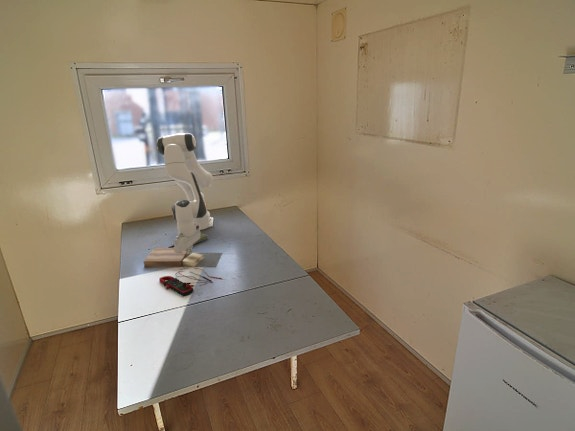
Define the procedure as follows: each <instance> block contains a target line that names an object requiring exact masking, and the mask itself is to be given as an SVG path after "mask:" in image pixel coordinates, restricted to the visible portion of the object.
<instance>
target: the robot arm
mask: <svg viewBox="0 0 575 431" xmlns="http://www.w3.org/2000/svg"><path fill="white" fill-rule="evenodd" d="M196 147H197V140H196V138H195V136H194V135H193V134H192V133H189V132H185V133H175V134H170V135H166V136H160V137H158V139H157V140H156V149H157V151H158V153H159V154H160V155H161V156H163V162H164V166H165V167H164V168H165V171H166V175H167V176H168V177H169V178H170V179H172V180H174V182H175V184H176V185H177V186H178V187H180V188H181V189H182V191H183V192H184V193H185V196H186V199H181V200H178V201H176V202H175V203H174V204H173V205H172V206H171V212H172V218H173V219H174V220H175V221H176V222H177V225H176V227H177V236H176V237H175V239H174V243H173V245H174V248H175V252H176V253H182V252H183V251H185V250H186V253H187V254H189V255H190V253H193V247H194V245H195V244H194V243H195V242H196V241H198V240H199V239H200V236H201V235H200V233H201V230H205V229H208V228H212V227H213V226H214V217H211V213H210V211H208V208H207V207H208V206H207V203H206V200H205V195H204V193H203V192H201V190H200V189H206V188H210V187H211V186H212V185H213V182H214V176H213V175H212V173H211V172H209V171H207V170H206V169H205V168H203V166H202V165H201V164H200V163H199V161H198V159H197V157H196V154H195V152H194V151H195V149H196Z"/></svg>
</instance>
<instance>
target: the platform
mask: <svg viewBox="0 0 575 431" xmlns="http://www.w3.org/2000/svg"><path fill="white" fill-rule="evenodd" d="M189 255H190V254H187V253H186V250H185V251H183V252H182V253H176V252H175V248H168V247H154V248H153V249H152V251H151V252H150V253H149V254H148V256H147V257H146V258H145V259H144V260H143V265H144V268H183V267H182V266H183V264H182V260H184V259H185V258H186V257H188V256H189Z"/></svg>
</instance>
